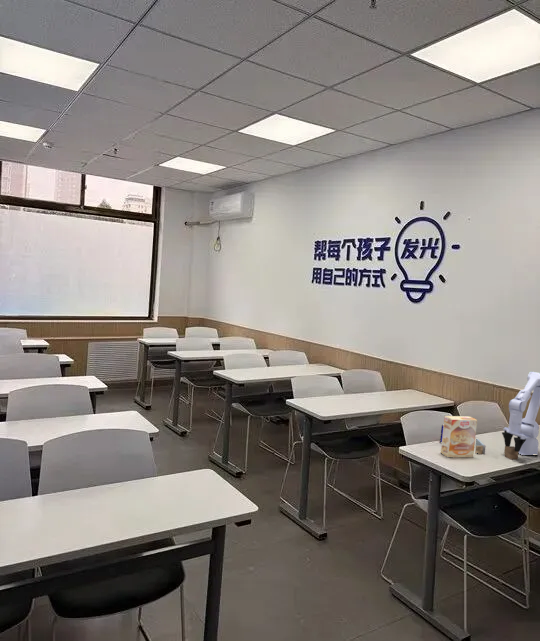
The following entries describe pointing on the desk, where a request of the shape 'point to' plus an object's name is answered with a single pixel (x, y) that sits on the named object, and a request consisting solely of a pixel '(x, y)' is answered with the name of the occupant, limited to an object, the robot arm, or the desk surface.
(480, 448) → the oak door frame
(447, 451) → the coffeecake box
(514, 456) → the walnut block
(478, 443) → the slate-blue door
